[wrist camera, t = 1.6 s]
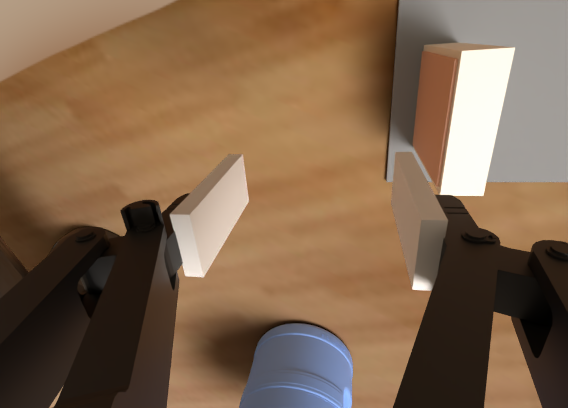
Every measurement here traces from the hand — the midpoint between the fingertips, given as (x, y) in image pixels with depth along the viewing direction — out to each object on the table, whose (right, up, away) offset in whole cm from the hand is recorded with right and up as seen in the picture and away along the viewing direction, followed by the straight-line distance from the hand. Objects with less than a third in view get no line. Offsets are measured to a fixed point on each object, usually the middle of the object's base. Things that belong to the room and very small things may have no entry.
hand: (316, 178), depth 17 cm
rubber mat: (+19, +9, +16) cm, 27 cm away
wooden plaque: (+13, +9, +16) cm, 23 cm away
